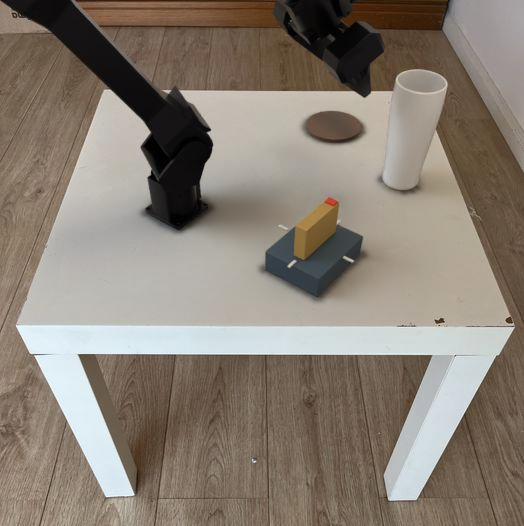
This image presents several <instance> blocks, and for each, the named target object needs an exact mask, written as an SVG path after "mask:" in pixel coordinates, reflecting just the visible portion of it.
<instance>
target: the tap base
mask: <svg viewBox="0 0 524 526" xmlns="http://www.w3.org/2000/svg"><path fill="white" fill-rule="evenodd" d="M340 223H342V221H341V220H340V219H337V226H336V232H335V233H334V234H333V235H331V236H330V237H329V238H328V239H327V240H326V241H325V242H324V243H323V244H322V245H321V246H319V247H318V248H317V249H316V250H315V251H314V252H313V253H312V254H311V255H310V256H309V257H307V258H306V259H305V260H302V259H300V258H298V257H296V256H294V242H295V226H293V227H292V228H291V229H290V230H289V228H288V227H286V226H285V225H282V224H279V225H278V226H277V227H278V228H280V229H281V230H283V231H284V230H285V231H287V232H286V233H285V234H284V235H283V236H282V237H280V238H279V239H278V240H277V241H276V242H274V243H273V244H272V245H271V246H270V247H269V248H267V249H266V250H265V252H264V254H265V255H264V256H265V257H264V265H265V266H264V270H266V271H268V272H269V273H271V274H273V275H275V276H277V277H278V278H281V279H283V280H284V281H287V282H288V283H290V284H292V285H293V286H296V287H298V288H299V289H301V290H302V291H305V292H306V293H309V294H310V295H313V296H314V297H319V296H320V295H321V293H322V292H324V291H325V289H327V288H328V287H329V286H330V285H331V284H332V283H333V282H334V281H335V280H336V279H337V278H338V277H339V276H340V275H341V274H342V273H343V272H344V271H345V270H346V269H347V268H348V267H349V266H350V265H351V264H353V263H355V260H356V259H357V258H358V257H359V256H360V255H361V252H362V246H363V240H364V235H361V234H359V233H358V232H355V231H353V230H351V229H348V227H347V228H346V227H345V226H342V225H340Z"/></svg>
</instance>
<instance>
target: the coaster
mask: <svg viewBox="0 0 524 526" xmlns="http://www.w3.org/2000/svg"><path fill="white" fill-rule="evenodd" d="M361 124H362V123H361V122H360V120H359V118H357V117H356V116H355V115H352V114H350V113H346V112H344V111H338V110H325V111H319V112H316V113H314V114H312V115H310V116H309V117H308V118H307V120H306V123H305V129H306V131H307V133H308V134H309V135H310V136H311V137H312V138H314V139H315V140H318V141H322V142H326V143H331V144H333V143H334V144H336V143H345V142H346V143H347V142H350V141H352V140H354V139H356V138H358V136H359V135H360V134H361V131H362V125H361Z"/></svg>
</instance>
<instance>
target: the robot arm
mask: <svg viewBox="0 0 524 526" xmlns="http://www.w3.org/2000/svg"><path fill="white" fill-rule="evenodd" d="M361 1H362V0H275V2H274V4H273V10H272V16H273V17H274V19H275V21H276V23H277V24H278V26H279V27H280V28H281V29H282V30H283V31H284V32H285V33H286V34H287V35H288V36H289V37H290V38H291V39H292V40H293V41H295V42H296V43H297V44H299V45H300V46H301V47H303V48H304V49H306V50H307V51H308V52H310V53H311V54H312V55H314V56H315V57H316V58H318V59H319V60H320V61H322V62H323V64H324V66H325V68H326V69H327V70H328V73H329V74H330V75H331V76H332V77H333V78H334V79H335V80H336V81H337V82H338V83H340V84H341V85H344V86H345V87H347V88H348V89H350V90H351V91H353V92H354V93H355V94H358V95H359V96H361V97H362V98H364V99H366V98H367V97H368V96H370V95H371V94H372V81H371V80H372V79H371V64H372V63H373V62H374V61H375V60H376V59H378V58H379V57H380V56H381V55H383V54H384V53H385V50H386V44H385V41H384V38H383V37H382V34H381V33H380V32H379V31H378V30H376V28H374V27H373V26H371V25H370V24H369V23H367V21H358V20H356V21H354V22H352V24H351V25H348V24H347V23H346V22H344V21H343V20H342V19H343V18H344V19H346V18H348V16H350V15H351V14H352V13H353V12H354V11H355V10H354V8H353V6H352V4H356V3H358V2H361ZM0 2H1V3H3V4H4V5H6V6H7V7H9V8H10V9H11V10H13V11H14V12H16V13H17V14H19V15H20V16H21V17H23V18H25V19H27V20H29V21H30V22H33V23H35V24H37V25H38V26H41V27H42V28H44V29H46V30H47V31H49V32H50V33H51V34H52V35H53V36H54V37H55V38H57V40H59V41H60V42H61V43H62V45H64V46H65V47H66V48H67V49H68V50H69V51H70V52H71V53H72V54H73V55H74V56H75V57H76V58H77V59H78V60H79V61H80V62H81V63H82V64H84V66H85V67H87V68H88V70H90V71H91V73H93V74H94V76H96V77H97V79H99V80H100V81H101V82H102V83H103V84H104V85H105V86H106V87H107V88H108V89H109V90H110V91H111V92H113V94H115V96H116V97H117V98H119V99H120V101H122V102H123V103H124V104H125V105H126V106H127V107H128V108H129V109H130V110H131V111H132V112H133V113H134V114H135V115H136V116H137V117H138V118H139V119H140V120H141V121H142V122H143V123H144V125H145V126H146V127H147V129H148V131H149V134H148V136H146V138H145V140H144V141H143V142H142V143H141V145H140V150H141V152H142V154H143V156H144V157H145V160H146V161H147V164H148V165H149V167H150V175H148V176H147V178H146V179H147V185H148V190H149V197H150V202H151V204H149V205H148V206H146V207H145V208H144V212H145V213H146V214H147V215H150V216H151V217H153V218H155V219H157V220H159V221H160V222H162V223H164V224H165V225H168V226H169V227H172V228H173V229H175V230H181V229H182V228H183V227H185V226H186V225H187V224H189V223H190V222H192V221H193V220H194V219H195V218H198V217H199V216H200V215H201V214H202V213H204V212H205V211H206V210H208V209H209V207H210V206H209V203H208V202H206V201H204V200H202V199H201V198H202V191H201V190H202V189H201V181H202V176H203V173H204V170H205V167H206V163H208V161H209V160H210V158H211V156H212V153H213V147H214V142H213V141H214V140H213V139H212V138H211V136H210V134H209V132H211V131H212V128H211V126H209V124H208V122H207V121H206V120H205V118H204V117H203V116H202V114H201V112H200V111H199V110H198V108H197V106H196V105H195V104H193V103H192V102H189V101H188V100H187V99H186V98H185V96H184V94H183V93H182V92H181V91H180V90H179V88H178V86H177V85H176V84H175V85H174V86H173V87H172V88H171V89H170V91H169V93H168V92H167V91H164V90H163V89H161V88H159V87H158V86H156V85H155V84H154V82H153V81H152V80H150V79H149V77H148V76H147V75H146V74H145V73H144V72H143V71H142V70H141V69H140V68H139V67H138V65H137V64H136V63H135V62H134V61H133V60H132V59H131V58H130V57H129V56H128V55H127V54H126V53H125V52H124V51H123V50H122V49H121V48H120V46H118V44H116V42H115V41H114V40H113V39H112V38H111V37H110V36H109V35H108V34H107V33H106V32H105V31H104V30H103V28H102V27H100V25H99V24H98V23H97V22H96V21H95V20H94V19H93V18H92V17H91V16H90V15H89V14H88V12H87V11H86V10H84V9H83V7H82V6H81V5H80V4H79V3H78V2H77V1H76V0H0Z"/></svg>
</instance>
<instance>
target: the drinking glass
mask: <svg viewBox="0 0 524 526" xmlns="http://www.w3.org/2000/svg"><path fill="white" fill-rule="evenodd" d="M448 86H449V84H448V81H447V79H446V78H445V77H444V76H442V75H441V74H439V73H437V72H434V71H432V70H427V69H408V70H405V71H402V72H400V73H398V74H397V76H396V77H395V81H394V85H393V90H392V93H391V99H390V105H389V112H388V121H387V130H386V131H387V133H386V144H385V152H384V153H385V154H384V161H383V169H382V174H381V178H382V181H383V183H384V184H385V185H386V186H387V187H389V188H391V189H393V190H397V191H407V190H408V191H409V190H411V189H413V188H415V187H416V186H417V185H418V183H419V181H420V177H421V174H422V171H423V167H424V164H425V161H426V159H427V155H428V152H429V150H430V147H431V144H432V141H433V139H434V136H435V133H436V130H437V128H438V127H437V126H438V125H439V124H438V123H439V122H440V118H441V115H442V111H443V108H444V104H445V100H446V96H447V95H446V94H447V90H448Z"/></svg>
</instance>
